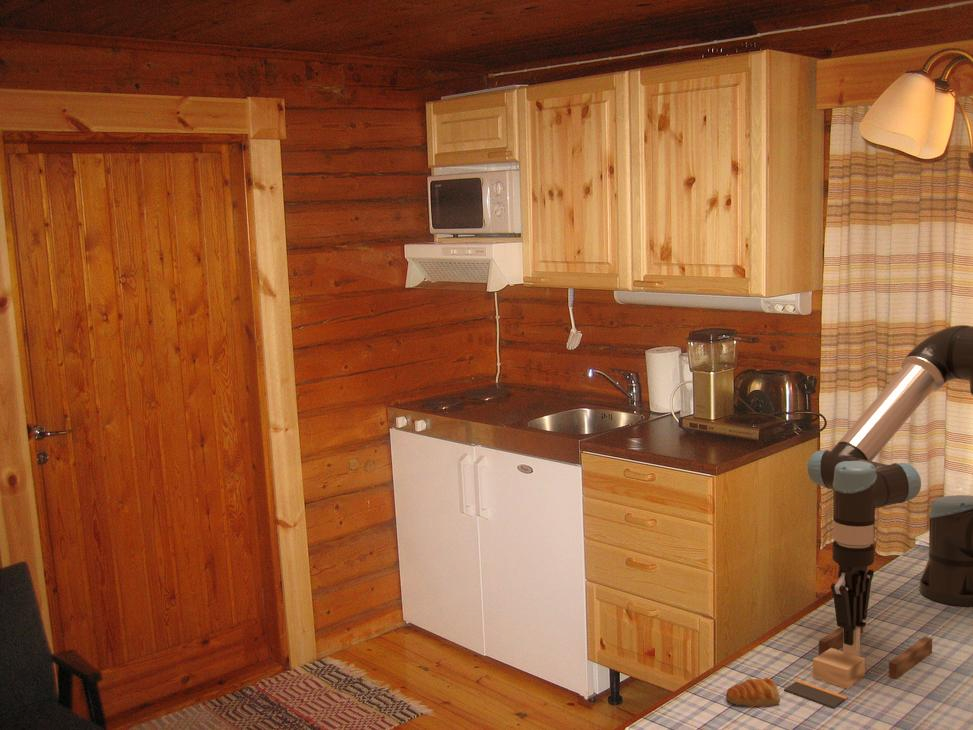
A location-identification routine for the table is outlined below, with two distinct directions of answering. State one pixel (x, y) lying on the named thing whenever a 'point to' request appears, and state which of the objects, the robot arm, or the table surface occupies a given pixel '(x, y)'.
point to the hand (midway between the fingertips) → (851, 658)
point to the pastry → (754, 693)
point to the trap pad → (815, 694)
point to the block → (839, 668)
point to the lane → (896, 665)
